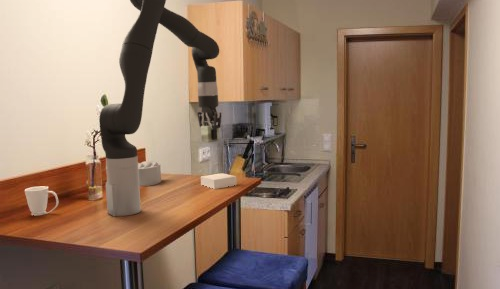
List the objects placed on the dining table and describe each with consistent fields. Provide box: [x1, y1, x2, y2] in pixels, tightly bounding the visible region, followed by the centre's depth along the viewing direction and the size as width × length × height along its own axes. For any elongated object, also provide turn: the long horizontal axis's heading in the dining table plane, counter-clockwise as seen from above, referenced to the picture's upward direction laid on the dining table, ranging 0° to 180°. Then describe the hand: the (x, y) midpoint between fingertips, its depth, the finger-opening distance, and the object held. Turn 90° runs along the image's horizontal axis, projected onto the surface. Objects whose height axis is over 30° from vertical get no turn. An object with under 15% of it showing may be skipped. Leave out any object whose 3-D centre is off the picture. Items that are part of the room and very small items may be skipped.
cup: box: [24, 185, 59, 217], centre depth 139 cm, size 7×10×8 cm
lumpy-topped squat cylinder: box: [138, 160, 162, 187], centre depth 185 cm, size 10×13×9 cm
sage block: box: [200, 124, 221, 143], centre depth 172 cm, size 5×5×6 cm
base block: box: [200, 172, 237, 190], centre depth 175 cm, size 10×10×4 cm
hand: (210, 138), depth 172 cm, fingers closed on sage block, 5 cm apart
